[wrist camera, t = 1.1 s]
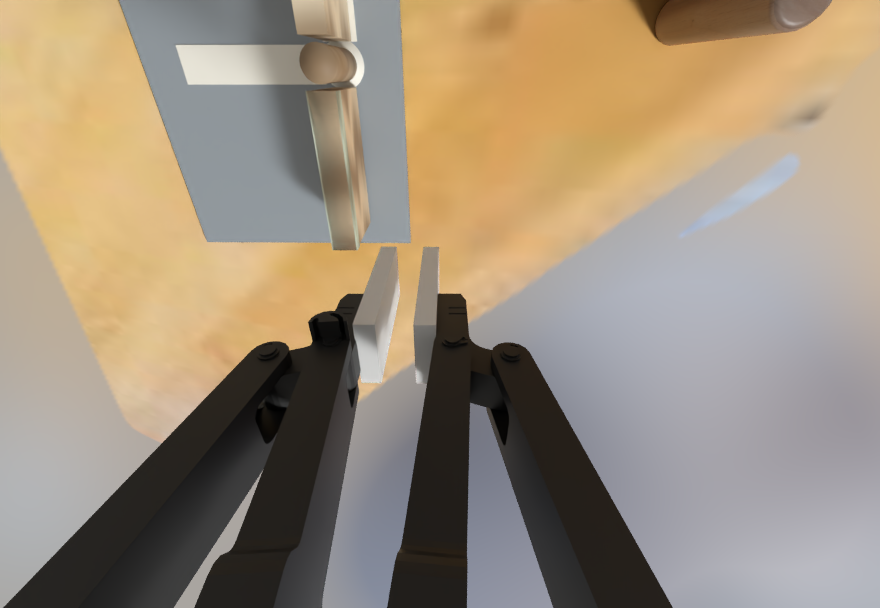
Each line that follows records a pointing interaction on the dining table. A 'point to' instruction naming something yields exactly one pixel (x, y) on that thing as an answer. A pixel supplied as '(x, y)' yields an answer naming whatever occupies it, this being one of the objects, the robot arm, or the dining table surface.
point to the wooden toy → (732, 18)
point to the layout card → (270, 114)
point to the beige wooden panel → (328, 20)
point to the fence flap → (340, 163)
